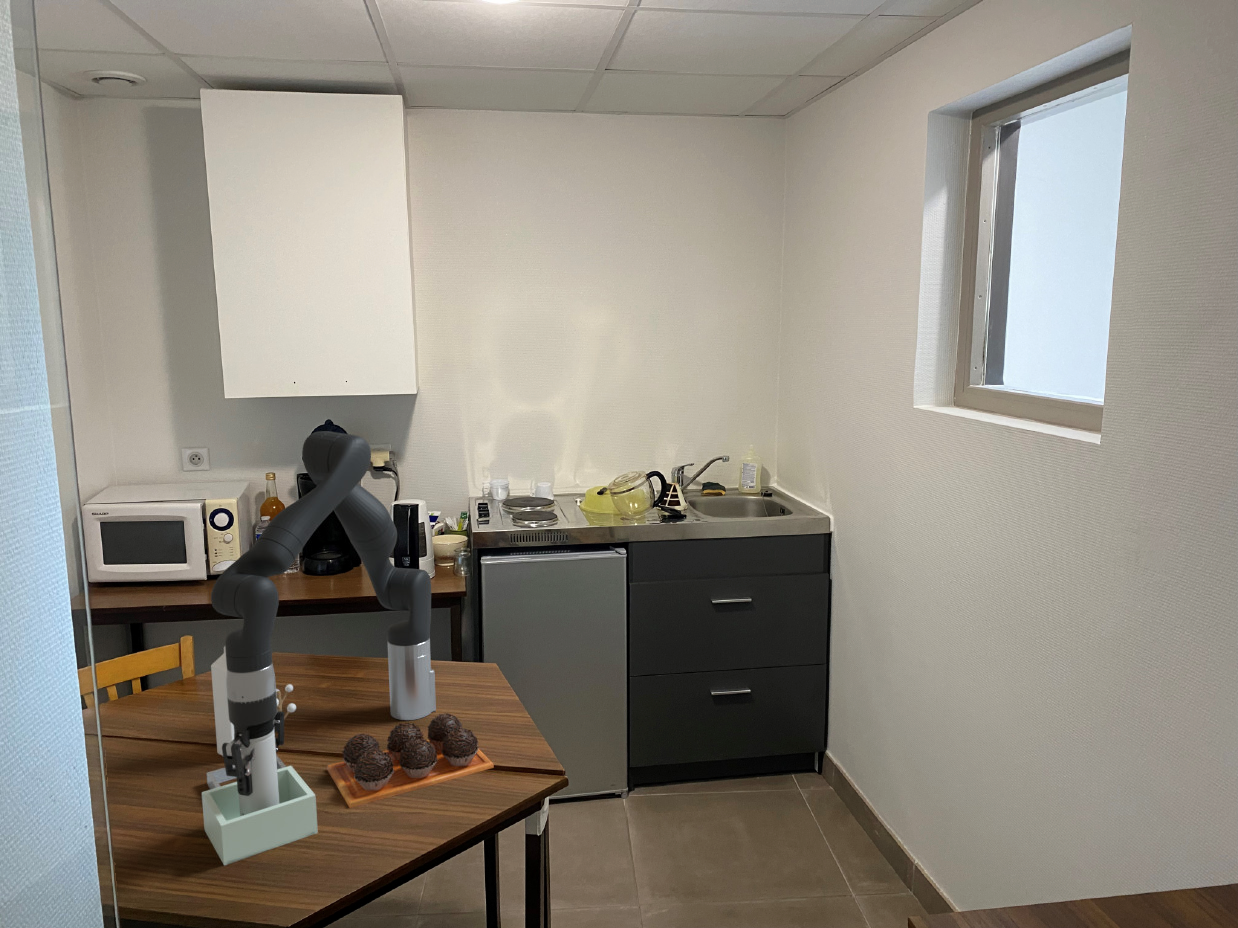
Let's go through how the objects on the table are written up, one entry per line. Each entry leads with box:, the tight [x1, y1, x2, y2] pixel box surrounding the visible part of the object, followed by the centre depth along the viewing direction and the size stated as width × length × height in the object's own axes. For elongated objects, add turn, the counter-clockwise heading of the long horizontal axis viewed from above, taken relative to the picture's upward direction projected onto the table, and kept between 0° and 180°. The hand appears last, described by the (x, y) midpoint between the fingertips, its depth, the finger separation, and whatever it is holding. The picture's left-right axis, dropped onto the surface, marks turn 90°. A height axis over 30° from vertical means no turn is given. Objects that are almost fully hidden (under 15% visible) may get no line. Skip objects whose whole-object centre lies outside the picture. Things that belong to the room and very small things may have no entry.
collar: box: [206, 754, 287, 790], centre depth 164 cm, size 13×12×2 cm
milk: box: [210, 645, 234, 757], centre depth 176 cm, size 6×6×22 cm
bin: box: [201, 765, 319, 866], centre depth 148 cm, size 15×13×7 cm
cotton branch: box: [276, 683, 297, 721], centre depth 181 cm, size 7×6×12 cm
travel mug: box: [234, 718, 279, 816], centre depth 147 cm, size 6×7×20 cm
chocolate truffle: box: [326, 712, 495, 809], centre depth 170 cm, size 28×17×8 cm, turn 122°
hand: (258, 783), depth 148 cm, fingers closed on travel mug, 6 cm apart
